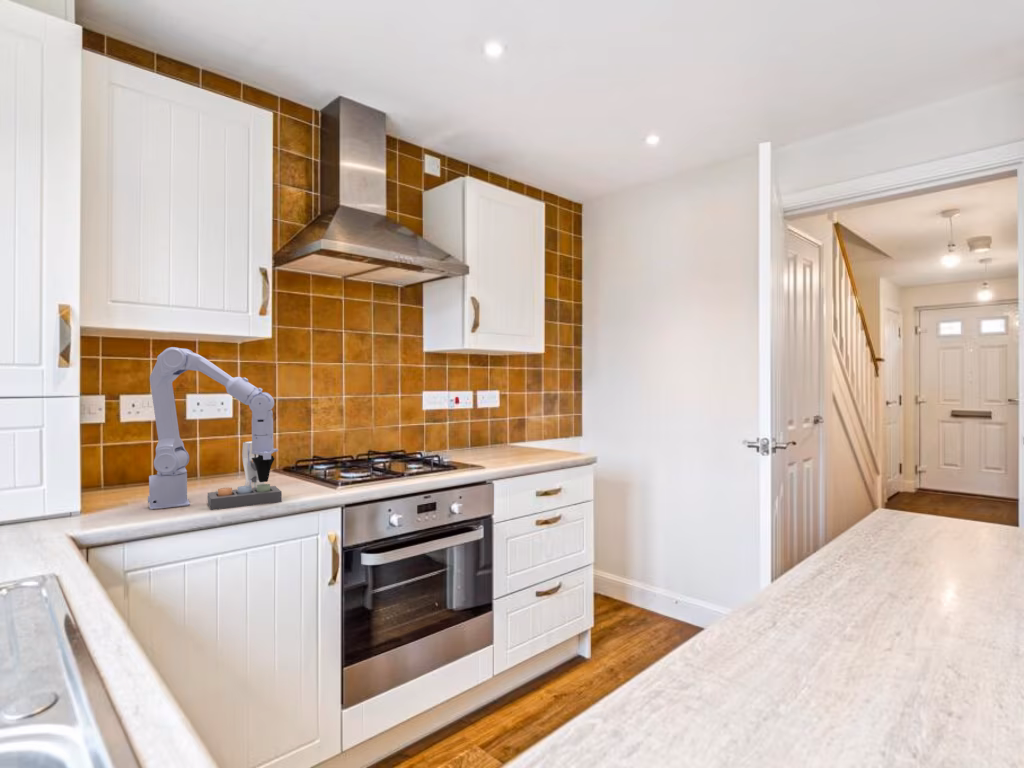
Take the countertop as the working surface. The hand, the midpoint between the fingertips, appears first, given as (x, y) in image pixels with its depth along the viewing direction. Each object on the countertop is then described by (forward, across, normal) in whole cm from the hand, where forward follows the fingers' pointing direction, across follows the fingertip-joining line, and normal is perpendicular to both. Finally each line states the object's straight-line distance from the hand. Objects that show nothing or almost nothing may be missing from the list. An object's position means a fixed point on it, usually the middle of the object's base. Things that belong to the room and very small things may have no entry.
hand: (263, 481), depth 168 cm
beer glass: (+6, +20, 0) cm, 21 cm away
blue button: (+4, 0, +5) cm, 6 cm away
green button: (+4, 0, 0) cm, 4 cm away
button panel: (+5, 0, +5) cm, 7 cm away
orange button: (+4, 0, +10) cm, 11 cm away
